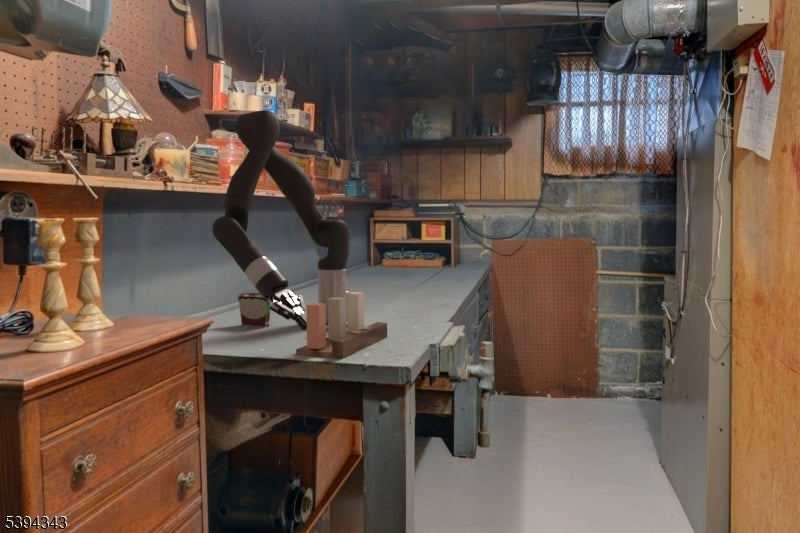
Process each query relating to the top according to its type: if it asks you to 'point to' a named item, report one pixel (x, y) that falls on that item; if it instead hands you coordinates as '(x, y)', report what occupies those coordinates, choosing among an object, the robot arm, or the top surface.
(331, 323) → the sage key
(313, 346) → the terracotta key
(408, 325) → the top surface
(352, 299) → the tan upright block
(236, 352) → the top surface
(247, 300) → the food container
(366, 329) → the brown wooden base
